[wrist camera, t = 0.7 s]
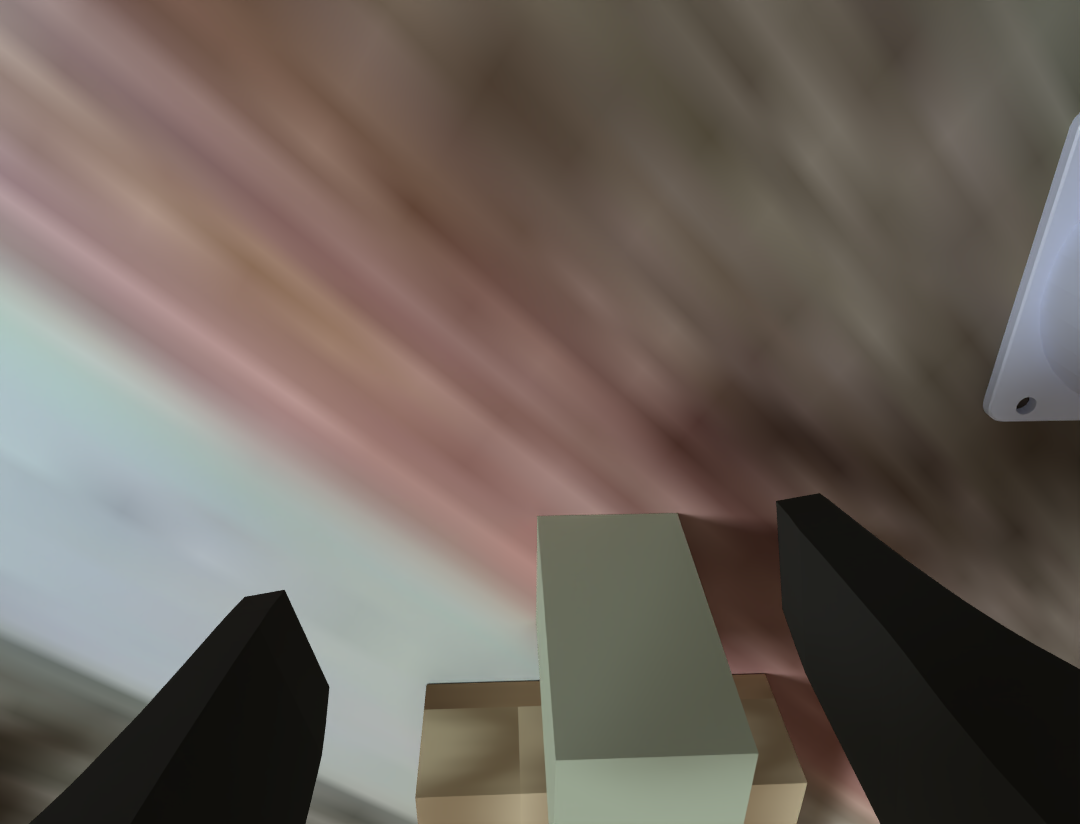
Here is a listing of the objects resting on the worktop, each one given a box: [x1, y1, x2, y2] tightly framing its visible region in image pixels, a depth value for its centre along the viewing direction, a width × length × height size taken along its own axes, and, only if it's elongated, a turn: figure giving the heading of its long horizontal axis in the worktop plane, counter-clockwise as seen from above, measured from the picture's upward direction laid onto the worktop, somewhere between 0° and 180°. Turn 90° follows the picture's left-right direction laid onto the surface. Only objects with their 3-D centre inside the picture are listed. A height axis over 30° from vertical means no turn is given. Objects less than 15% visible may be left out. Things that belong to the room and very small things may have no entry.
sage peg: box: [536, 513, 759, 824], centre depth 20 cm, size 4×4×8 cm
